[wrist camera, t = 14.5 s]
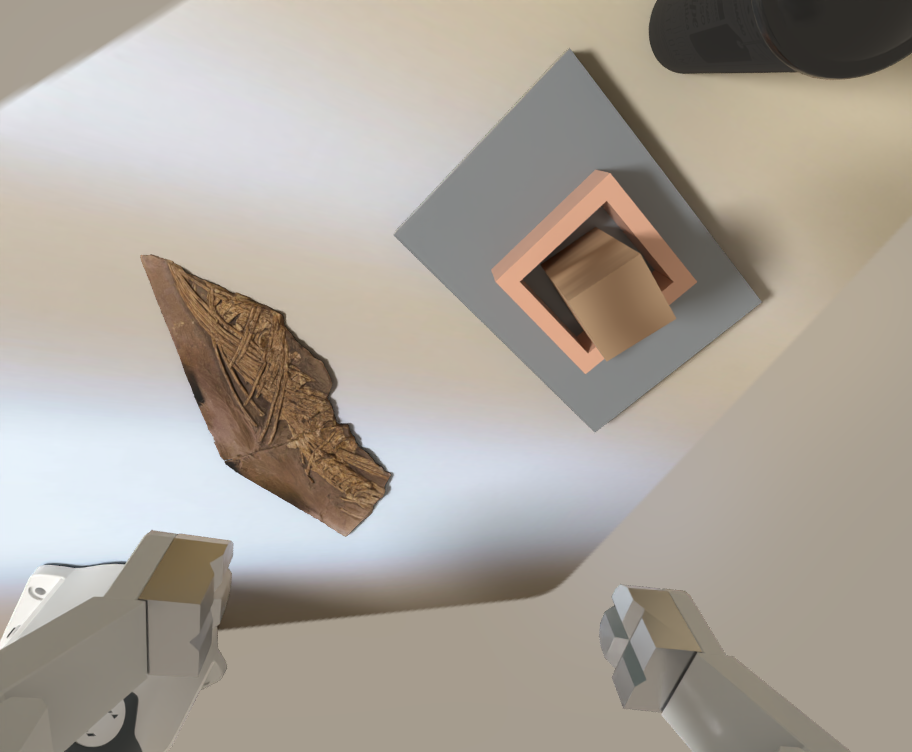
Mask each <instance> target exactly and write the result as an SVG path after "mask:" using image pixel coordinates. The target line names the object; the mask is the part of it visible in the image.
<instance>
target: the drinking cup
mask: <svg viewBox="0 0 912 752" xmlns="http://www.w3.org/2000/svg"><path fill="white" fill-rule="evenodd" d="M649 39H650V44H651V48H652V51H653V53H654V55H655V57H656V58H657V60H658V61H659V62H660V63H661V64H662V65H663V66H664V67H665V68H667V69H669V70H671V71H673V72H676V73H683V74H689V73H770V72H799V73H801V74H804V75H807V76H810V77H813V78H818V79H826V80H840V79H850V78H856V77H861V76H865V75H869V74H872V73H875V72H877V71H880V70H883V69H885V68H887V67H889V66H891V65H893V64H895V63H897V62H898V61H900V60H902V59H904V58H905V57H907V56H908V55H910V54H911V53H912V0H657V1H656V3H655V6H654V8H653V11H652V14H651V18H650V23H649Z"/></svg>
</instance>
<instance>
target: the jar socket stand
mask: <svg viewBox="0 0 912 752" xmlns="http://www.w3.org/2000/svg"><path fill="white" fill-rule="evenodd" d="M595 227H597V228H598V229H600V230H602V231H603V232H605V233H607V234H608V235H610V236H612V237H613V238H615V239H617V240H618V241H620V242H622V243H623V244H625V245H627V246H628V247H630V248H632V249H633V250H635V251H637V252H638V253H640V254H641V256H642V257H643V259H644V261H645V263H646V265H647V266H648V268H649V270H650V272H651V274H652V275H653V277H654V279H655V281H656V283H657V284H658V286H659V288H660V290H661V292H662V293H663V295H664V297H665V299H666V301H667V302H668V304H669V306H670V308H671V310H672V311H673V313H674V315H675V317H676V319H675V320H674V321H672V322H670V323H669V324H667V325H666V326H664V327H662V328H661V329H659V330H657V331H656V332H654V333H653V334H651V335H649V336H648V337H646V338H644V339H643V340H641V341H640V342H638V343H636V344H635V345H633V346H631V347H630V348H628V349H626V350H625V351H623V352H622V353H620V354H618V355H617V356H615V357H613V358H612V359H610V360H609V361H606V360H605V359H604V357H603V356H602V355H601V353H600V352H599V350H598V349H597V348H596V346H595V345H594V343H593V342H592V341H591V339H590V338H589V337H588V335H587V334H586V332H585V331H584V330H583V328H582V327H581V325H580V324H579V323H578V321H577V320H576V319H575V317H574V316H573V314H572V313H571V311H570V310H569V308H568V307H567V305H566V304H565V302H564V301H563V299H562V297H561V296H560V294H559V293H558V291H557V290H556V288H555V287H554V285H553V284H552V282H551V280H550V279H549V277H548V276H547V274H546V273H545V271H544V270H543V268H542V266H541V264H542V263H544V262H545V261H547V260H548V259H550V258H551V257H553V256H554V255H556V254H557V253H558V252H560V251H561V250H563V249H564V248H566V247H567V246H569V245H570V244H572V243H573V242H575V241H576V240H577V239H579V238H580V237H582V236H583V235H585V234H586V233H588V232H589V231H591V230H592V229H594V228H595ZM394 236H395V237H396V238H397V239H398V240H399V241H400V242H401V243H402V244H403V245H404V246H405V247H406V248H407V249H408V250H409V251H410V252H411V253H412V254H413V255H414V256H415V257H416V258H417V259H418V260H419V261H420V262H421V263H422V264H423V265H424V266H425V267H426V268H427V269H428V270H430V271H431V272H432V273H433V274H434V275H435V276H436V277H437V278H438V279H439V280H440V281H441V282H442V283H443V284H444V285H445V286H446V287H447V288H448V289H449V290H450V291H451V292H452V293H453V294H454V295H455V296H456V297H457V298H458V299H459V300H460V301H461V302H462V303H463V304H464V305H465V306H466V307H467V308H468V309H469V310H470V311H471V312H472V313H473V314H474V315H475V316H476V317H477V318H478V319H480V320H481V321H482V322H483V323H484V324H485V325H486V326H487V327H488V328H489V329H490V330H491V331H492V332H493V333H494V334H495V335H496V336H497V337H498V338H499V339H500V340H501V341H502V342H503V343H504V344H505V345H506V346H507V347H508V348H509V349H510V350H511V351H512V352H513V353H514V354H515V355H516V356H517V357H518V358H519V359H520V360H521V361H522V362H523V363H524V364H525V365H526V366H527V367H528V368H530V369H531V370H532V371H533V372H534V373H535V374H536V375H537V376H538V377H539V378H540V379H541V380H542V381H543V382H544V383H545V384H546V385H547V386H548V387H549V388H550V389H551V390H552V391H553V392H554V393H555V394H556V395H557V396H558V397H559V398H560V399H561V400H562V401H563V402H564V403H565V404H566V405H567V406H568V407H569V408H570V409H571V410H572V411H573V412H574V413H575V414H576V415H577V416H579V417H580V418H581V419H582V420H583V421H584V422H585V423H586V424H587V425H588V426H589V427H590V428H591V429H592V430H593V431H594V432H596V431H598V430H599V429H600V428H601V427H603V426H604V425H605V424H607V423H608V422H609V421H610V420H612V419H613V418H614V417H616V416H617V415H618V414H619V413H621V412H622V411H623V410H625V409H626V408H627V407H628V406H630V405H631V404H632V403H633V402H635V401H636V400H637V399H639V398H640V397H641V396H642V395H644V394H645V393H646V392H648V391H649V390H650V389H651V388H653V387H654V386H655V385H657V384H658V383H659V382H660V381H662V380H663V379H664V378H665V377H667V376H668V375H669V374H671V373H672V372H673V371H674V370H676V369H677V368H678V367H680V366H681V365H682V364H683V363H685V362H686V361H687V360H689V359H690V358H691V357H692V356H694V355H695V354H696V353H698V352H699V351H700V350H701V349H703V348H704V347H705V346H706V345H708V344H709V343H710V342H712V341H713V340H714V339H715V338H717V337H718V336H719V335H721V334H722V333H723V332H724V331H726V330H727V329H728V328H730V327H731V326H732V325H733V324H735V323H736V322H737V321H738V320H740V319H741V318H742V317H744V316H745V315H746V314H747V313H749V312H750V311H751V310H753V309H754V308H755V307H756V306H758V305H759V304H760V303H762V302H761V300H760V299H759V298H758V296H757V295H756V294H755V292H754V291H753V290H752V288H751V287H750V286H749V284H748V283H747V282H746V280H745V279H744V278H743V276H742V275H741V274H740V272H739V271H738V270H737V268H736V267H735V266H734V265H733V263H732V262H731V261H730V259H729V258H728V257H727V255H726V254H725V253H724V251H723V250H722V249H721V247H720V246H719V245H718V243H717V242H716V241H715V239H714V238H713V237H712V235H711V234H710V233H709V232H708V230H707V229H706V228H705V226H704V225H703V224H702V222H701V221H700V220H699V218H698V217H697V216H696V214H695V213H694V212H693V210H692V209H691V208H690V206H689V205H688V204H687V202H686V201H685V200H684V199H683V197H682V196H681V195H680V193H679V192H678V191H677V189H676V188H675V187H674V185H673V184H672V183H671V181H670V180H669V179H668V177H667V176H666V175H665V173H664V172H663V171H662V169H661V168H660V167H659V166H658V164H657V163H656V162H655V160H654V159H653V158H652V156H651V155H650V154H649V152H648V151H647V150H646V148H645V147H644V146H643V144H642V143H641V142H640V140H639V139H638V138H637V136H636V135H635V134H634V133H633V131H632V130H631V129H630V127H629V126H628V125H627V123H626V122H625V121H624V119H623V118H622V117H621V115H620V114H619V113H618V111H617V110H616V109H615V107H614V106H613V105H612V103H611V102H610V101H609V99H608V98H607V97H606V96H605V94H604V93H603V92H602V90H601V89H600V88H599V86H598V85H597V84H596V82H595V81H594V80H593V78H592V77H591V76H590V74H589V73H588V72H587V70H586V69H585V68H584V66H583V65H582V64H581V63H580V61H579V60H578V59H577V57H576V56H575V55H574V53H573V52H572V51H571V49H570V48H569V49H568V50H566V51H565V52H564V53H563V54H562V55H561V56H560V57H559V58H558V59H557V60H556V61H555V62H554V63H553V64H552V65H551V66H550V68H549V69H548V70H547V71H546V72H545V73H544V74H543V75H542V76H541V77H540V78H539V79H538V80H537V81H536V82H535V83H534V84H533V86H532V87H531V88H530V89H529V90H528V91H527V92H526V93H525V94H524V95H523V96H522V97H521V98H520V99H519V100H518V101H517V103H516V104H515V105H514V106H513V107H512V108H511V109H510V110H509V111H508V112H507V113H506V114H505V115H504V116H503V117H502V118H501V120H500V121H499V122H498V123H497V124H496V125H495V126H494V127H493V128H492V129H491V130H490V131H489V132H488V133H487V134H486V135H485V137H484V138H483V139H482V140H481V141H480V142H479V143H478V144H477V145H476V146H475V147H474V148H473V149H472V150H471V151H470V152H469V154H468V155H467V156H466V157H465V158H464V159H463V160H462V161H461V162H460V163H459V164H458V165H457V166H456V167H455V168H454V169H453V170H452V172H451V173H450V174H449V175H448V176H447V177H446V178H445V179H444V180H443V181H442V182H441V183H440V184H439V185H438V186H437V187H436V189H435V190H434V191H433V192H432V193H431V194H430V195H429V196H428V197H427V198H426V199H425V200H424V201H423V202H422V203H421V204H420V206H419V207H418V208H417V209H416V210H415V211H414V212H413V213H412V214H411V215H410V216H409V217H408V218H407V219H406V220H405V221H404V223H403V224H402V225H401V226H400V227H399V228H398V229H397V230H396V231H395V233H394Z"/></svg>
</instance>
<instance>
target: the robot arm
mask: <svg viewBox="0 0 912 752" xmlns="http://www.w3.org/2000/svg"><path fill="white" fill-rule="evenodd" d="M232 557H233V542H232V541H230V540H223V539H215V538H208V537H201V536H193V535H186V534H174V533H167V532H160V531H153V530H151V531H150V532H149V533H147V534H146V535H145V536H144V537H143V539H142V540H141V542H140V543H139V544H138V546H137V547H136V549H135V550H134V552H133V553H132V555H131V556H130V558H129V559H128V561H127V562H126V564H125V565H124V564H105V565H97V566H91V567H85V568H71V567H64V566H56V565H42V566H39V567H38V568H37V569H36V570H35V571H34V573H33V574H32V575H31V577H30V578H29V580H28V582H27V584H26V586H25V588H24V591H23V593H22V595H21V597H20V599H19V601H18V604H17V606H16V608H15V610H14V612H13V614H12V617H11V619H10V621H9V623H8V625H7V627H6V630H5V632H4V634H3V636H2V638H1V640H0V752H167V751H168V750H169V749H170V748H171V746H172V745H173V743H174V741H175V739H176V737H177V735H178V733H179V732H180V729H181V727H182V726H183V724H184V722H185V719H186V717H187V716H188V714H189V712H190V710H191V708H192V706H193V704H194V702H195V700H196V698H197V696H198V694H199V692H200V690H202V689H204V688H206V687H208V686H210V685H212V684H214V683H216V682H218V681H219V680H220V679H221V678H222V677H223V675H224V673H225V671H226V669H227V665H226V662H225V659H224V658H223V656H222V654H221V653H220V651H219V649H218V643H217V641H218V630H217V625H219V624H220V622H221V619H222V616H223V614H224V611H225V608H226V604H227V601H228V597H229V593H230V587H231V579H232V573H231V571H230V570H229V569H228V567H229V564H230V562H231V559H232ZM612 599H613V602H614V606H613V607H611V608H610V609H608V610H607V611H605V613H604V615H603V618H602V620H601V623H600V634H599V637H600V644H601V648H602V651H603V654H604V657H605V659H606V660H607V661H608V662H609V663H610V664H611V665H612V666H613V667H614V668H615V671H614V674H613V676H612V679H613V682H614V684H615V687H616V690H617V692H618V695H619V698H620V700H621V703H622V706H623V708H624V709H632V710H642V711H651V712H661V713H662V716H663V717H664V718H665V719H666V721H667V722H668V723H669V724H670V726H671V727H672V728H673V729H674V730H675V731H676V733H677V734H678V735H679V736H680V737H681V739H682V740H683V741H684V742H685V743H686V745H687V746H688V747H689V748H690V749H691V750H692V752H850V751H849V749H847V748H846V747H845V746H844V745H842V744H841V743H840V742H839V741H838V740H836V739H835V738H834V737H833V736H831V735H830V734H829V733H828V732H826V731H825V730H824V729H822V728H821V727H820V726H819V725H818V724H816V723H815V722H814V721H813V720H811V719H810V718H809V717H808V716H807V715H805V714H804V713H803V712H802V711H800V710H799V709H798V708H797V707H795V706H794V705H793V704H792V703H791V702H789V701H788V700H787V699H786V698H784V697H783V696H782V695H781V694H779V693H778V692H777V691H776V690H774V689H773V688H772V687H771V686H769V685H768V684H767V683H766V682H765V681H763V680H762V679H761V678H760V677H758V676H757V675H756V674H754V673H753V672H752V671H751V670H750V669H748V668H747V667H746V666H745V665H743V664H742V663H741V662H740V661H739V660H737V659H736V658H735V657H733V656H728V655H726V654H725V652H724V650H723V649H722V647H721V645H720V644H719V642H718V640H717V639H716V637H715V636H714V634H713V632H712V631H711V629H710V627H709V626H708V624H707V622H706V621H705V619H704V618H703V616H702V614H701V612H700V611H699V609H698V607H697V606H696V604H695V603H694V601H693V599H692V598H691V596H690V595H689V594H688V593H687V592H685V591H681V590H671V589H660V588H650V587H640V586H631V585H619V586H618V587H617V588H616V589H615V591H614V593H613V595H612Z"/></svg>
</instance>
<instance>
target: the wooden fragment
mask: <svg viewBox="0 0 912 752" xmlns="http://www.w3.org/2000/svg"><path fill="white" fill-rule="evenodd" d="M140 258H141V261H142V264H143V267H144V269H145V271H146V273H147V276H148V278H149V280H150V283H151V286H152V289H153V292H154V294H155V297H156V300H157V302H158V305H159V306H160V309H161V312H162V314H163V317H164V319H165V322H166V324H167V327H168V329H169V331H170V334H171V337H172V339H173V341H174V343H175V346H176V349H177V352H178V354H179V356H180V359H181V362H182V365H183V368H184V371H185V374H186V376H187V378H188V381H189V383H190V385H191V388H192V391H193V394H194V397H195V399H196V401H197V404H198V406H199V408H200V410H201V413H202V415H203V417H204V420H205V421H206V424H207V426H208V430H209V431H210V433H211V434H212V436H213V437H214V440H215V441H216V442H214V443H215V445H216V447H217V449H218V452H219V454H220V456H221V458H222V459H223V460H224V461H225V460H227V461H225V464H226V465H228V466H229V467H230V468H232V469H233V470H235V472H238V473H239V474H240V475H242V476H244V477H245V478H247V479H249V480H251V481H253V482H254V483H256V484H257V485H259V486H261V487H262V488H264V489H266V490H268V491H270V492H271V493H273V494H275V495H277V496H278V497H280V498H282V499H283V500H285V501H287V502H289V503H290V504H292V505H294V506H295V507H297V508H298V509H300V510H302V511H304V512H305V513H307V514H310V515H311V516H313V517H314V518H316V519H319V520H320V521H321V522H323V523H325V524H326V525H327V526H329V527H330V528H332V529H334V530H335V531H337V532H338V533H340V534H342V535H343V536H345V537H346V536H347V535H348V534H349V533H350V532H351V531H352V530H353V529H354V528H355V527H356V526H357V525H358V524H359V523H360V522H361V521H363V520H364V519H365V518H367V517H368V516H369V515H370V514H371V513H372V511H373V508H374V506H373V505H374V504H375V503H376V502H377V501H378V500H379V499H380V498H382V497H383V495H384V493H385V484H386V482H387V481H388V479H389V477H390V476H391V474H390V473H388V472H386V471H385V470H384V469H383V468H382V466H379V465H378V464H376V463H375V462H374V460H373V458H372V457H371V456H370V455H369V453H367V452H366V451H364V450H363V449H362V448H360V447H359V446H358V444H357V443H356V442H355V437H354V436H353V435H352V434H351V431H350V428H349V426H348V424H338V423H337V422H336V417H335V416H334V411H333V408H332V406H331V404H330V400H328V399H327V398H328V396H329V392H330V390H331V387H332V382H331V378H330V376H329V373H328V371H327V370H326V368H325V366H324V364H323V362H322V361H321V360H318V359H316V358H314V357H313V356H312V354H311V353H310V352H309V351H308V350H307V349H305V348H304V347H303V346H302V345H301V344H300V343H299V342H297V341H296V340H295V339H294V338H293V336H292V334H291V333H290V332H289V331H288V330H287V328H286V327H285V326H284V318H283V315H282V314H280V313H278V312H277V311H274V310H273V309H271V308H270V307H269V306H267V305H263V304H259V303H256V302H255V301H253V300H251V299H250V298H248V297H247V296H243V295H241V294H239V293H230V292H229V291H228V290H226V289H225V288H223V287H220V286H218V285H215V284H212V283H209V282H207V281H205V280H202V279H200V278H198V277H196V276H194V275H190V274H187V273H185V272H184V270H183V269H182V267H181V266H179V265H177V264H175V263H174V262H173V261H171V260H167V259H163V258H159V257H158V256H154V255H141V256H140ZM230 459H232V460H230Z"/></svg>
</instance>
